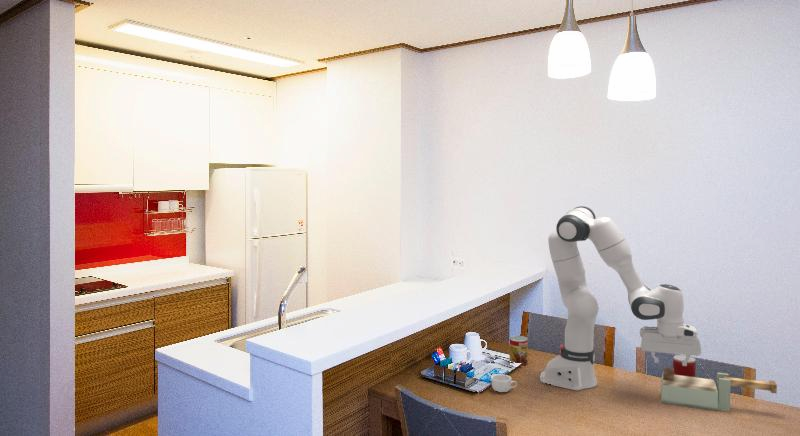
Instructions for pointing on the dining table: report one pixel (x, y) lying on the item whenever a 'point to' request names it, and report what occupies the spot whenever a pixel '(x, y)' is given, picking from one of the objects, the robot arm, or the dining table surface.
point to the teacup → (502, 382)
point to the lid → (687, 381)
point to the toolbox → (699, 395)
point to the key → (754, 384)
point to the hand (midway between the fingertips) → (670, 364)
